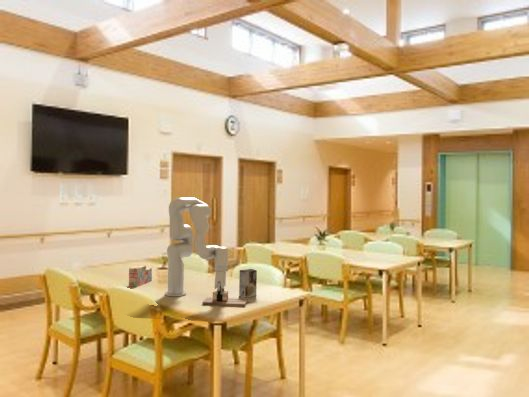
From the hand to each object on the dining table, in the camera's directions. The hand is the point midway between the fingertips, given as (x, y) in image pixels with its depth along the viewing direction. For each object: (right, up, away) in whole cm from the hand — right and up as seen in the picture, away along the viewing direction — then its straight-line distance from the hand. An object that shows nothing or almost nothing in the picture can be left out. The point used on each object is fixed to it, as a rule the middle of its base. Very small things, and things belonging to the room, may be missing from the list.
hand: (220, 299), depth 268 cm
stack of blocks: (-59, 0, +49) cm, 76 cm away
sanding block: (0, 0, 0) cm, 0 cm away
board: (+3, -2, 0) cm, 3 cm away
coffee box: (+15, -2, +20) cm, 25 cm away
